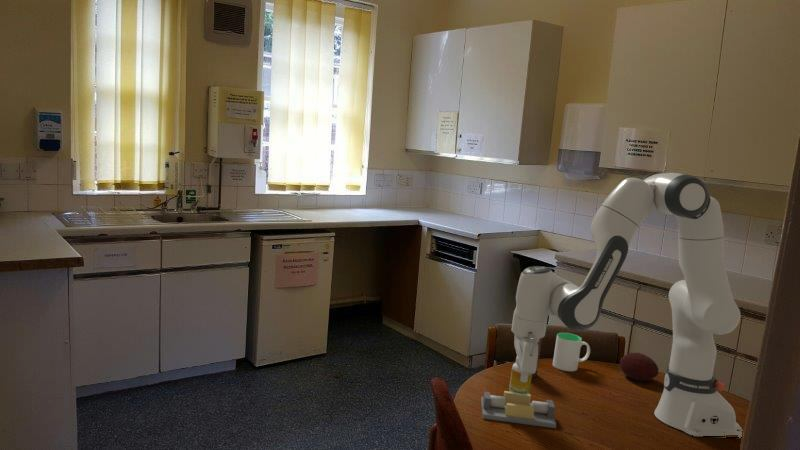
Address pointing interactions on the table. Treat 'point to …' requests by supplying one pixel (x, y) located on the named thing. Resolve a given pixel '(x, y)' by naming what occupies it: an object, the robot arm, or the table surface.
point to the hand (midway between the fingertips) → (521, 376)
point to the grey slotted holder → (518, 409)
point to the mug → (568, 351)
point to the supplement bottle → (516, 384)
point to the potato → (638, 366)
